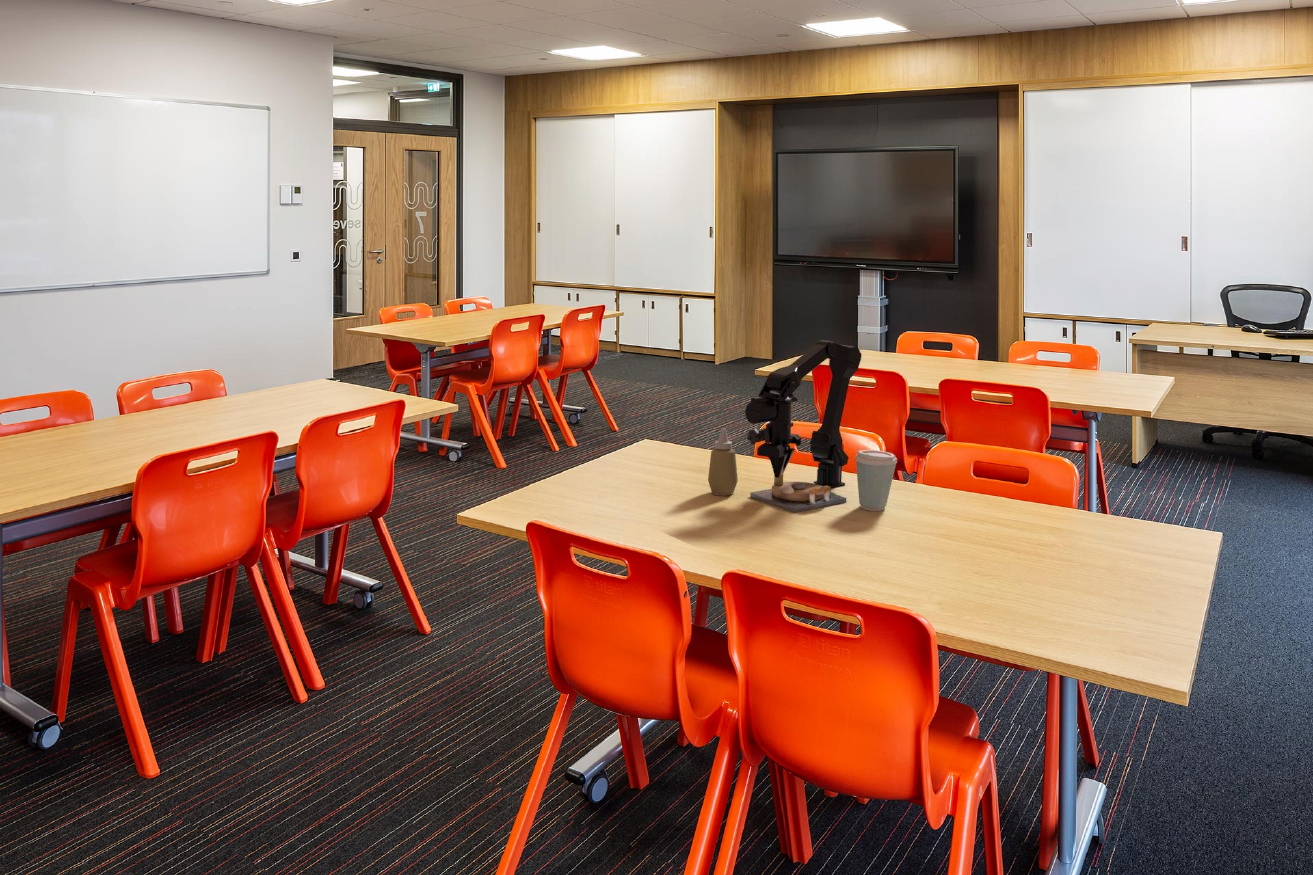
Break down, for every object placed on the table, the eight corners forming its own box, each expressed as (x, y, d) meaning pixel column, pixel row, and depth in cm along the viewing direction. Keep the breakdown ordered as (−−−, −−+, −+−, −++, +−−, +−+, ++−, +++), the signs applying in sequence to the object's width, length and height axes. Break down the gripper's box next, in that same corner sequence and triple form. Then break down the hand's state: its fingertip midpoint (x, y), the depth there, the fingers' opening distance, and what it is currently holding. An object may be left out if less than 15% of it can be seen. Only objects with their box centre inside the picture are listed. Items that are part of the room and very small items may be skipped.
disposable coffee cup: (867, 500, 273) (870, 445, 269) (902, 508, 265) (906, 451, 262) (844, 507, 265) (846, 451, 262) (880, 516, 258) (883, 458, 255)
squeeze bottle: (737, 489, 282) (739, 426, 279) (737, 497, 275) (738, 432, 271) (708, 489, 283) (709, 425, 280) (707, 496, 275) (707, 431, 272)
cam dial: (833, 492, 274) (834, 465, 273) (809, 504, 263) (810, 475, 262) (787, 484, 282) (787, 457, 281) (761, 495, 271) (761, 467, 270)
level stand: (800, 487, 285) (801, 470, 284) (846, 502, 271) (847, 483, 270) (750, 496, 275) (750, 478, 274) (794, 512, 261) (795, 493, 260)
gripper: (763, 410, 284) (762, 465, 287) (739, 422, 267) (737, 480, 271) (802, 414, 279) (800, 469, 282) (779, 426, 263) (777, 485, 266)
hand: (778, 476), depth 275 cm, fingers closed on cam dial, 2 cm apart
